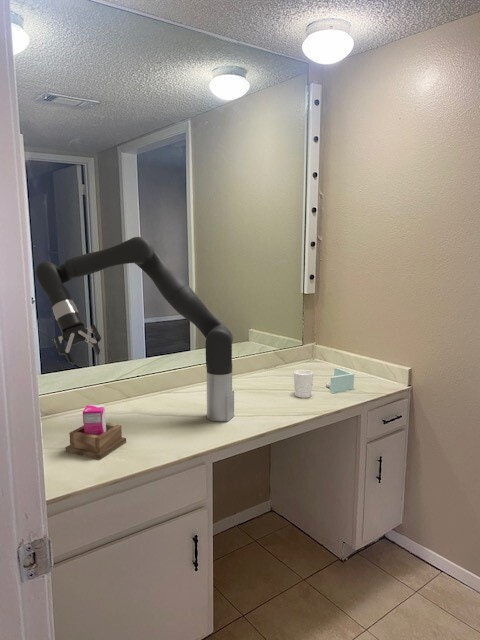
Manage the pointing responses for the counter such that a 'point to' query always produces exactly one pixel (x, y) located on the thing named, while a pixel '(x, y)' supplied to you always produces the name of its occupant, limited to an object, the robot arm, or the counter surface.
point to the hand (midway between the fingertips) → (86, 359)
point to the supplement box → (94, 419)
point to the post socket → (96, 442)
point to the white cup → (303, 383)
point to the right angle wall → (341, 381)
